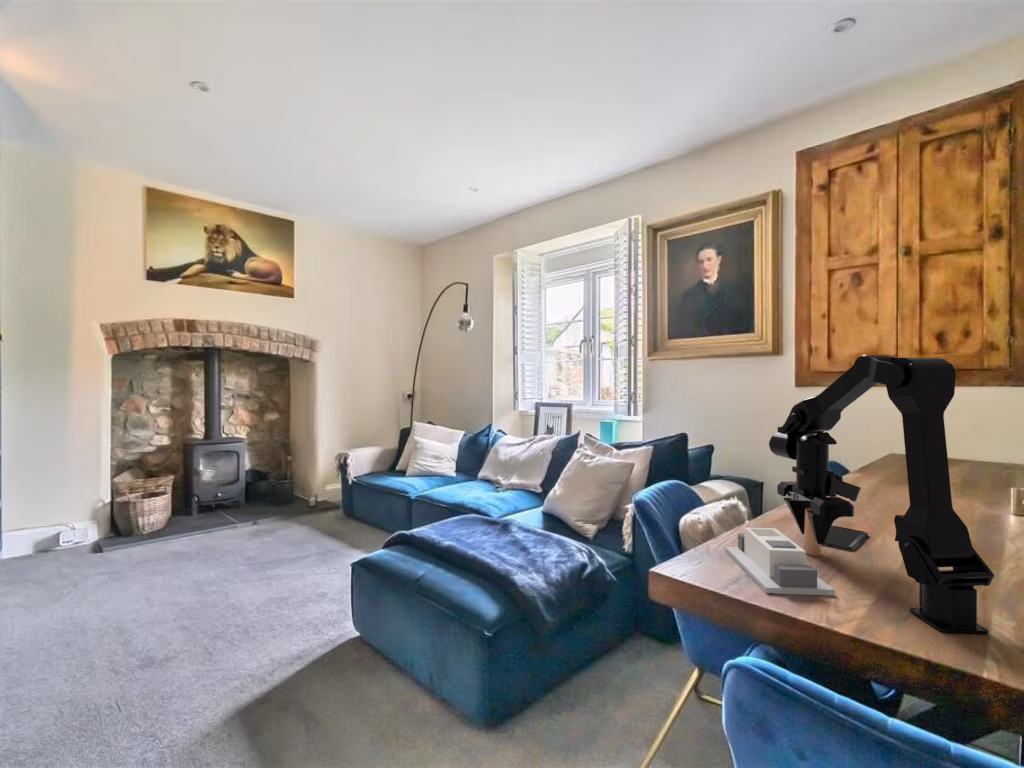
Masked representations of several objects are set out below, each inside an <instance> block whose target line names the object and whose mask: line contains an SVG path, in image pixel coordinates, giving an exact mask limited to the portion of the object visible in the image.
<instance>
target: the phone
mask: <svg viewBox="0 0 1024 768" xmlns="http://www.w3.org/2000/svg"><path fill="white" fill-rule="evenodd" d="M868 537H869V533H868V532H867V531H863V530H858V529H853V528H848V527H842V526H837V525H831V527H830V530H829V532H828V535H827V537H826V540H825V542H824V544H821V546H824V547H830V548H833V549H838V550H842V551H846V552H847V551H849V552H854V551H856V549H857V548H858V547H859V546H860V545H862V543H863V542H864V541H865V540H866V539H868Z"/></svg>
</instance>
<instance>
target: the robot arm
mask: <svg viewBox="0 0 1024 768" xmlns="http://www.w3.org/2000/svg"><path fill="white" fill-rule="evenodd" d="M956 374H957V373H956V370H955V367H954V365H953V364H952V363H950V362H949V361H947V360H946V359H945V358H942V357H897V356H896V357H895V356H890V355H887V354H862V355H860V356H858V357H857V358H856V359H855V360H854V363H853V365H851V366H850V367H849V368H848V369H846V370H845V371H844V372H843V373H842V374H841V375H840V376H838V377H837V378H836V379H835V380H834V381H832V383H831V384H829V385H828V386H827V387H826V388H825V389H824V390H823V391H821V392H820V393H819V394H817V395H815V396H812V397H808V398H804V399H803V400H800V401H799V402H798V403H796V404H794V405H793V406H792V407H791V410H790V413H789V414H788V416H787V418H786V420H785V422H784V423H783V425H782V426H778V427H777V432H775V433H773V434H772V436H771V438H770V439H769V442H768V445H769V446H768V447H769V449H770V451H771V453H773V454H774V455H775V456H778V457H782V458H785V459H790V460H795V461H796V462H795V463H796V465H795V466H791V471H792V472H793V473H795V474H796V475H795V476H796V477H795V478H796V479H795V481H780V482H779V483H778V484H777V485H776V486H777V487H776V489H777V490H776V491H777V495H780V496H782V497H783V501H784V502H785V504H786V505H787V507H788V510H789V511H790V513H791V515H792V517H793V519H794V520H795V523H796V525H797V527H798V530H799V531H800V533H801V535H804V530H805V509H806V508H811V509H812V510H806V512H807V515H808V518H809V521H810V524H811V527H812V530H813V533H814V536H815V539H816V542H817V544H824V542H825V540H826V537H827V535H828V532H829V530H830V527H831V526H833V523H834V522H835V521H836V520H837V519H839V518H845V517H846V518H853V517H855V506H854V505H853V503H852V502H855V503H856V502H857V499H858V496H859V494H860V491H861V489H862V487H860V486H858V485H855V484H852V483H849V482H846V481H844V480H843V479H844V478H843V476H842V475H840V474H836V473H835V472H834V470H831V469H830V467H829V466H830V465H829V463H830V462H829V461H830V460H829V459H830V458H829V457H830V456H829V454H830V449H829V447H830V445H833V446H834V445H835V446H836V445H837V440H836V439H835V438H834V437H832V436H831V434H830V433H829V432H828V431H831V430H832V429H833V428H834V427H835V426H836V425H837V424H838V422H840V420H841V418H842V412H843V411H844V409H847V407H848V406H850V405H851V404H852V403H854V402H855V401H856V400H857V399H859V398H860V397H862V396H863V395H864V394H865V393H866V392H868V391H869V390H871V389H872V388H873V387H875V386H876V385H877V384H880V385H885V388H886V392H887V396H888V398H889V400H890V401H891V403H892V404H893V405H894V406H895V408H897V409H898V412H899V413H900V414H901V418H902V429H903V440H904V453H905V463H906V464H905V465H906V475H907V484H908V485H907V487H908V497H909V506H908V508H907V510H906V511H905V513H904V514H895V516H894V518H893V522H894V526H895V537H894V541H895V542H898V548H899V551H900V554H901V557H902V560H903V564H904V567H905V570H906V574H907V576H908V577H909V578H911V579H914V581H915V582H916V583H918V584H919V591H918V592H919V595H918V596H919V601H918V603H919V604H918V605H919V607H909V611H910V613H911V614H913V615H915V617H917V618H919V619H921V620H923V621H924V622H925V623H927V624H929V626H932V627H933V628H935V629H936V630H937V631H939V632H942V633H960V634H962V633H963V634H984V635H985V634H986V635H987V634H989V633H990V632H989V631H990V629H988V628H987V627H985V626H984V625H982V624H980V623H978V590H977V589H976V588H975V587H980V586H983V587H989V586H990V585H991V583H992V581H993V579H994V578H995V574H994V572H993V571H992V570H991V569H990V567H989V566H988V565H987V564H986V562H985V561H984V560H983V559H982V557H981V556H980V555H979V553H978V552H977V550H975V548H974V547H973V544H972V540H971V536H970V533H969V529H968V526H967V525H966V524H965V522H963V520H962V519H961V517H960V516H959V515H958V513H957V512H956V511H955V510H954V508H953V501H952V491H951V480H950V469H949V468H950V467H949V459H948V447H947V439H946V438H947V437H946V427H945V411H946V410H947V408H948V407H949V405H950V403H951V402H952V400H953V398H954V397H955V391H956V390H955V388H956V377H957V375H956ZM837 496H838V497H837ZM839 496H840V497H839ZM841 497H842V498H841ZM844 498H845V499H844ZM846 499H848V500H850V501H852V502H850V501H848V500H846ZM939 568H952V569H941V570H940V569H939Z"/></svg>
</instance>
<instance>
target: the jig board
mask: <svg viewBox="0 0 1024 768" xmlns="http://www.w3.org/2000/svg"><path fill="white" fill-rule="evenodd" d="M724 552H725V553H726V554H727V555H728V557H730V558H731V559H732V560H733V562H735V563H736V564H737V565H738V567H740V568H741V569H742V571H743V572H744V573H745V574H747V576H748V577H750V578H751V580H752V581H754V583H755V584H756V585H757V586H758V587H759V588H760V589H761V590H762V591H763V592H764V593H765V594H769V593H773V594H774V593H775V594H776V595H798V596H799V595H801V596H803V595H804V596H806V595H807V596H832V597H833V596H834V597H835V589H834V588H833V587H831V585H829V584H827V583H826V582H825V581H824V580H822V579H821V578H819V577H818V570H817V569H816V568H815V567H814V566H812V565H806V566H804V565H775V578H769V577H768V576H767V575H766V574H765V573H764V572H763V571H762V570H761V569H760V568H759V567H758V566H757V565H756V563H755V562H754V561H753V560H752V559H751V558H750V557H749V556H748V555H747V554H746V553H745V552H744V533H740V532H739V533H737V546H724ZM773 594H772V595H773Z"/></svg>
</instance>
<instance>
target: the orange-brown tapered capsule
mask: <svg viewBox="0 0 1024 768" xmlns="http://www.w3.org/2000/svg"><path fill="white" fill-rule="evenodd" d="M806 510H812V509H811V508H806V509H805V530H804V534H803V535H804V536H803V537H804V538H803V550H805V551H806V555H808V556H811V557H821V555H822V545H821V544H817V542H816V539H815V536H814V533H813V530H812V527H811V524H810V521H809V518H808V515H807V512H806Z"/></svg>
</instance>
